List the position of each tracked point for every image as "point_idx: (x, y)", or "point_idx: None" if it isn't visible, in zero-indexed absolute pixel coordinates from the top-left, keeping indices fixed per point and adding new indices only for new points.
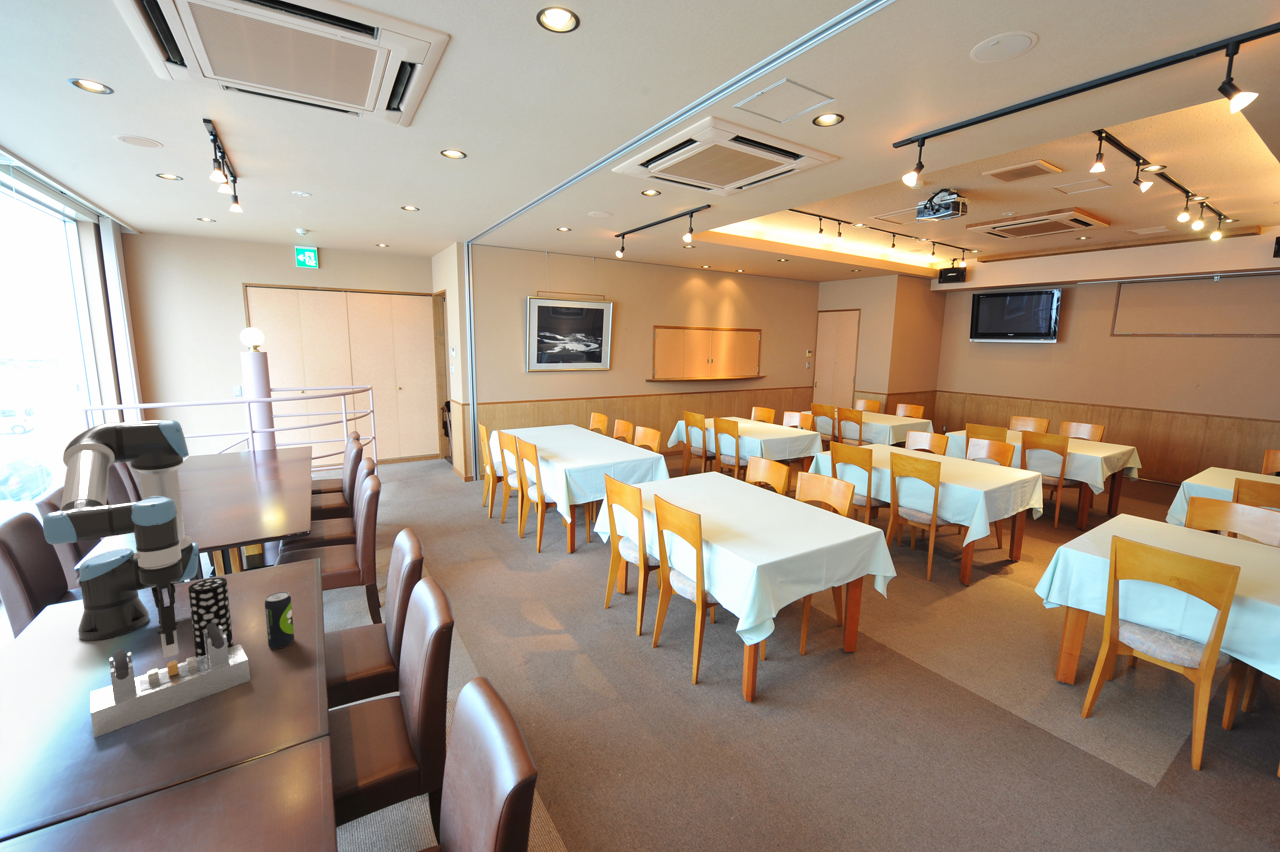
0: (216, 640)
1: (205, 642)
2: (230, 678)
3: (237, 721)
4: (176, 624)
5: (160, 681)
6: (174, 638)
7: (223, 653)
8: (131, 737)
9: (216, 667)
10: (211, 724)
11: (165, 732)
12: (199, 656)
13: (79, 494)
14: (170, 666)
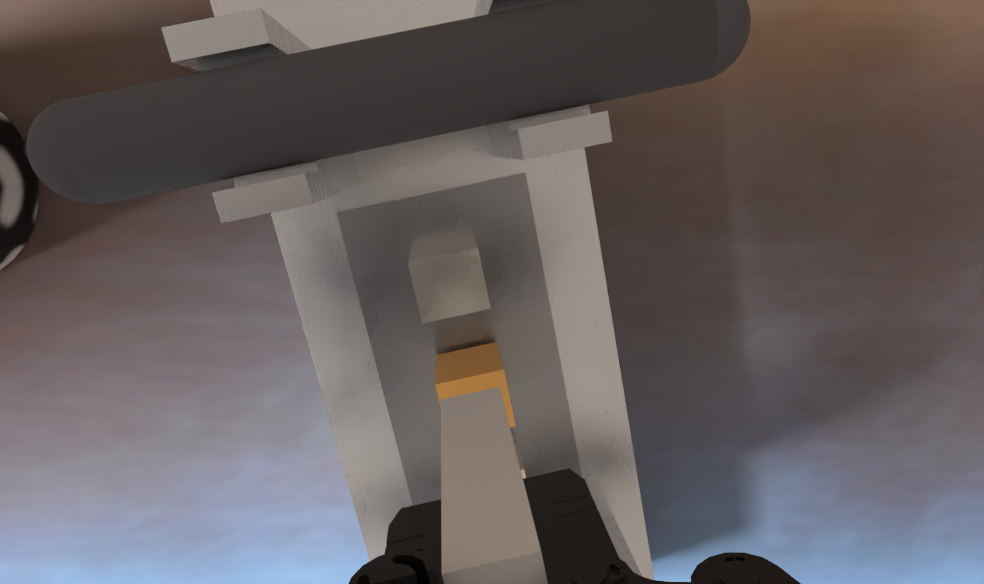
0: (681, 46)
1: (332, 194)
2: None
3: (921, 9)
4: (435, 581)
5: (530, 427)
6: (529, 494)
7: None
8: (723, 441)
9: None
10: (857, 131)
11: (780, 318)
12: (5, 261)
13: None
14: (511, 407)
